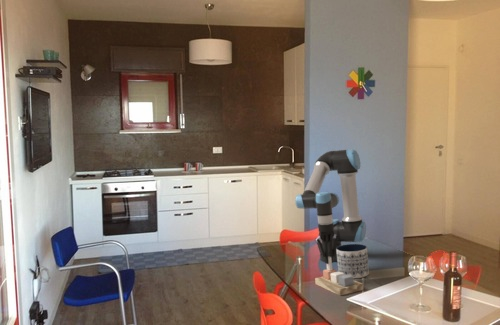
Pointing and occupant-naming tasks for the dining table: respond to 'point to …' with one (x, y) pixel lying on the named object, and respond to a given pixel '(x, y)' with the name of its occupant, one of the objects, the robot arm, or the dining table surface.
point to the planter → (353, 260)
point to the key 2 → (346, 280)
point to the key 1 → (328, 273)
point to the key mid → (336, 276)
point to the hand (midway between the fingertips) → (329, 269)
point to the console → (338, 286)
